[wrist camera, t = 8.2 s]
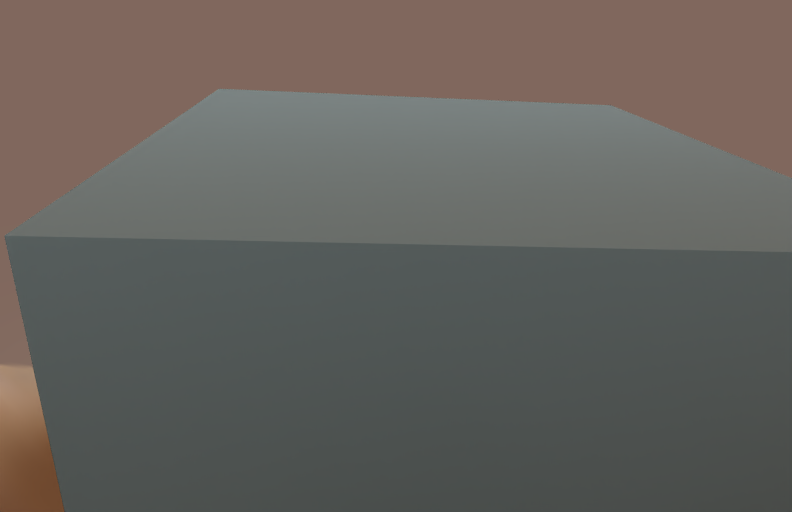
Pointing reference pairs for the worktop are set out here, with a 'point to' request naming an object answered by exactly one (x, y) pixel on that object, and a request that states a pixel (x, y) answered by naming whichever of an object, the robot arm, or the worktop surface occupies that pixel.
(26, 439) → the worktop surface
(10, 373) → the worktop surface
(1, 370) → the worktop surface
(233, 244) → the post
